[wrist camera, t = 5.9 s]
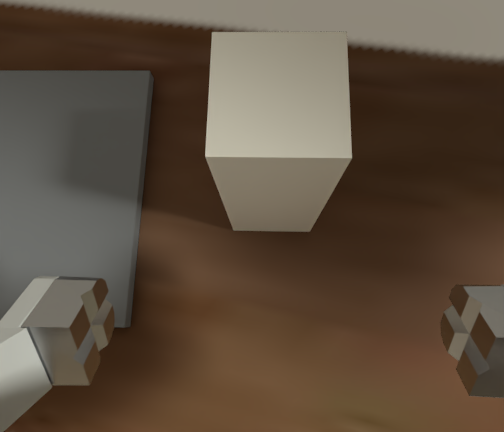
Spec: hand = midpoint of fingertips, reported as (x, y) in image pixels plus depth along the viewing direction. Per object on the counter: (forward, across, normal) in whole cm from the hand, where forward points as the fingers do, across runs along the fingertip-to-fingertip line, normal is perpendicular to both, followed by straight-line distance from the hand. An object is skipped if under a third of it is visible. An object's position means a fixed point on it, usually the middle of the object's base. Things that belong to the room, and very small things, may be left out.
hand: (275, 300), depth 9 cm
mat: (+12, +13, +3) cm, 18 cm away
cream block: (+12, 0, +3) cm, 12 cm away
